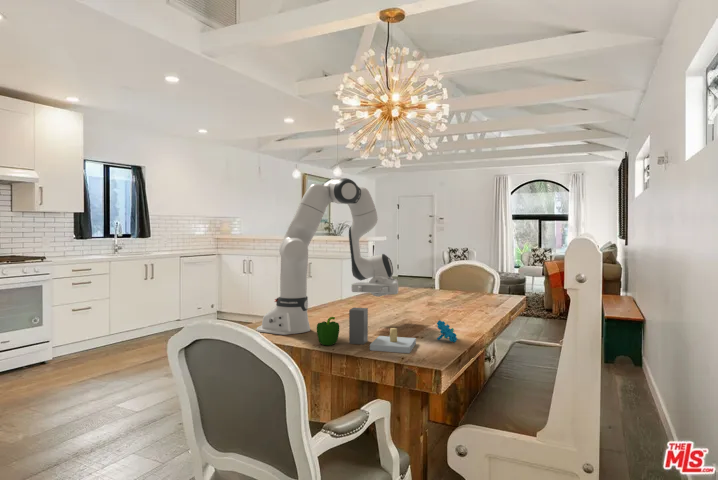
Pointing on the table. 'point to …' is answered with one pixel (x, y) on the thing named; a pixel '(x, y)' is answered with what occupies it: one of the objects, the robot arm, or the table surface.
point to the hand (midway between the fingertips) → (370, 290)
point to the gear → (446, 331)
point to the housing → (358, 325)
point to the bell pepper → (328, 332)
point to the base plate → (393, 343)
